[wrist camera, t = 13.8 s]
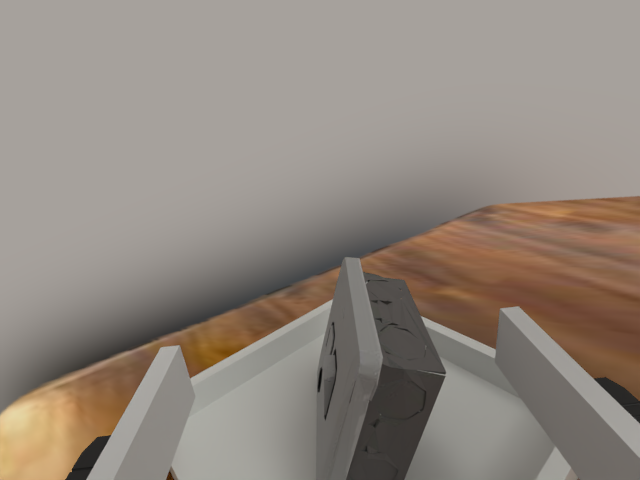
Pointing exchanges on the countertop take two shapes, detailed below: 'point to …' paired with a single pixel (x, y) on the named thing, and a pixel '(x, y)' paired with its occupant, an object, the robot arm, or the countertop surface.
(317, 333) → the white square tray
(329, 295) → the countertop surface
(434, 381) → the electrical switch
